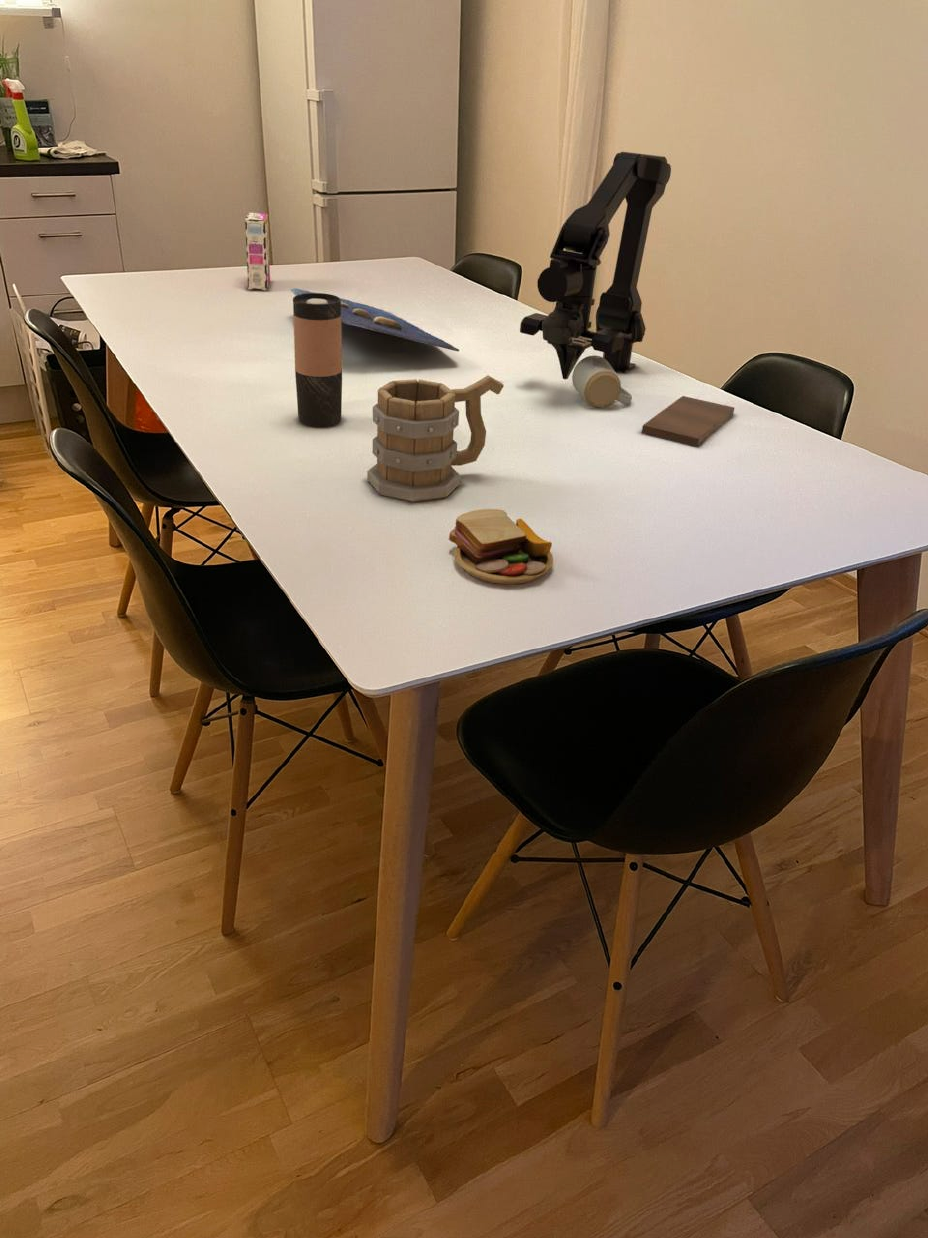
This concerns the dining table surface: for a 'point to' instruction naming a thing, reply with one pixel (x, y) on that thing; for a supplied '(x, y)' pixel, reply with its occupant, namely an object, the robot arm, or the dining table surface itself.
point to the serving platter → (383, 322)
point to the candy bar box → (257, 251)
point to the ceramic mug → (598, 382)
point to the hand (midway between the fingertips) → (565, 378)
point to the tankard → (424, 437)
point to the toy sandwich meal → (499, 548)
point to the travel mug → (318, 358)
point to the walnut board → (688, 421)
